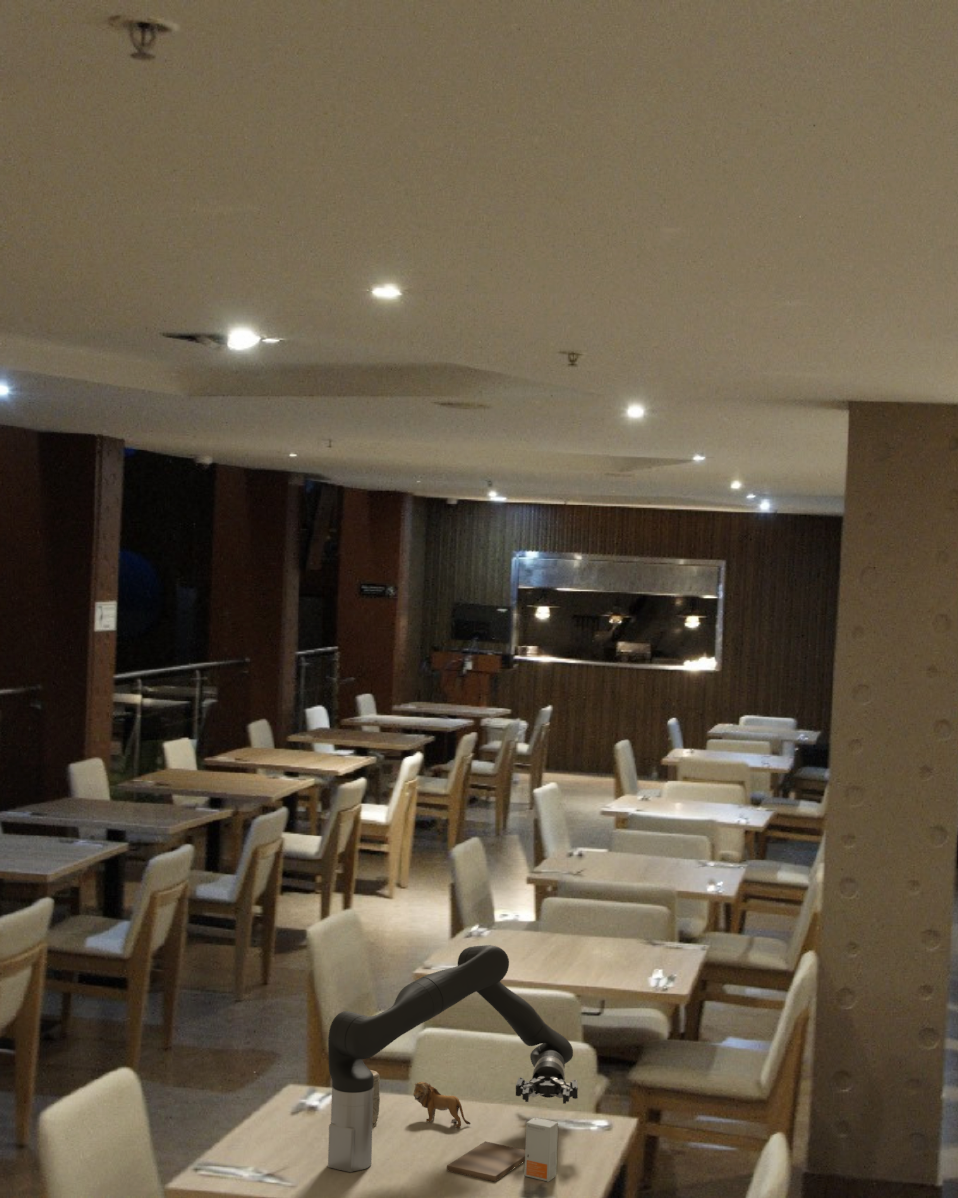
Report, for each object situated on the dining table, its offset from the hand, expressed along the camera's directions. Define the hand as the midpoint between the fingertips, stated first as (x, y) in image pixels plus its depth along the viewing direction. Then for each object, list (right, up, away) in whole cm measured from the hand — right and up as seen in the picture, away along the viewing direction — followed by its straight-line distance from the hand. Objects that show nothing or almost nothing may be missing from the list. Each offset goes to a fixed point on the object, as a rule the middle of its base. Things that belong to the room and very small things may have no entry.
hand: (545, 1098), depth 354 cm
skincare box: (-2, -14, -11) cm, 18 cm away
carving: (-42, -12, +21) cm, 49 cm away
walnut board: (-13, -13, -4) cm, 19 cm away
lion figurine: (-25, -13, +22) cm, 36 cm away
